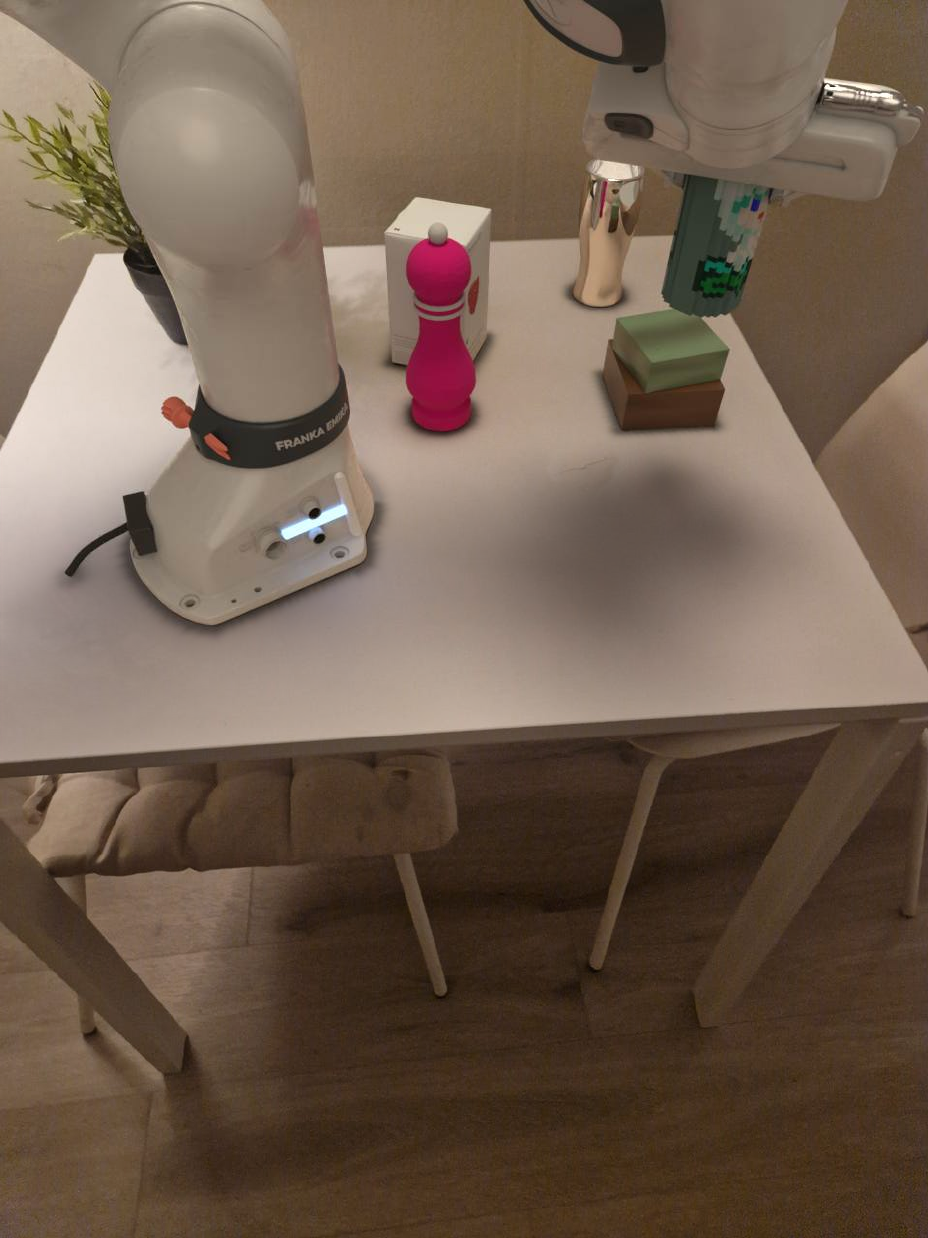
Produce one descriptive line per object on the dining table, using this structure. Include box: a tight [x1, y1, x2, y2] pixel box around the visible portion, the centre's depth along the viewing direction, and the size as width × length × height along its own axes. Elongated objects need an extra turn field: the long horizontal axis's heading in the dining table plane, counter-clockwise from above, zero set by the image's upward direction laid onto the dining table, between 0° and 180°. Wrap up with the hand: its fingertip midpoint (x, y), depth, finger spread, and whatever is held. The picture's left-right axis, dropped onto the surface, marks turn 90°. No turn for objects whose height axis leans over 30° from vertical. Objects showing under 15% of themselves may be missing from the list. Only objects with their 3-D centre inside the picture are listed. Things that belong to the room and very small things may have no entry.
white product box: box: [383, 196, 492, 366], centre depth 87 cm, size 9×9×15 cm
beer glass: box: [572, 158, 646, 308], centre depth 95 cm, size 7×7×15 cm
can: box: [660, 174, 773, 319], centre depth 60 cm, size 6×6×15 cm
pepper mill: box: [405, 222, 477, 432], centre depth 77 cm, size 7×7×20 cm
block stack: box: [602, 308, 731, 431], centre depth 84 cm, size 10×10×8 cm
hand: (727, 187), depth 60 cm, fingers closed on can, 6 cm apart
